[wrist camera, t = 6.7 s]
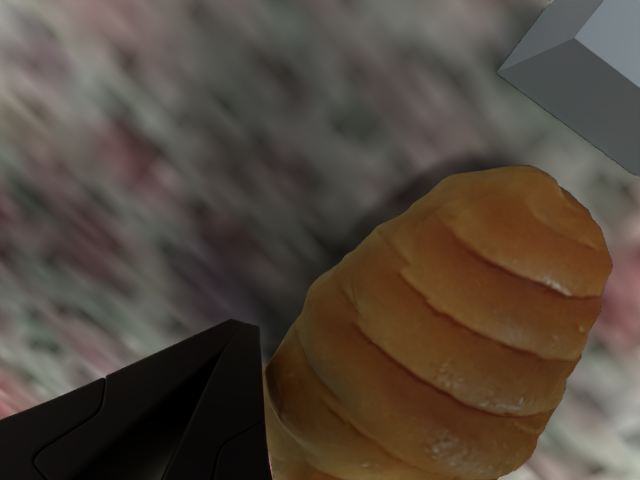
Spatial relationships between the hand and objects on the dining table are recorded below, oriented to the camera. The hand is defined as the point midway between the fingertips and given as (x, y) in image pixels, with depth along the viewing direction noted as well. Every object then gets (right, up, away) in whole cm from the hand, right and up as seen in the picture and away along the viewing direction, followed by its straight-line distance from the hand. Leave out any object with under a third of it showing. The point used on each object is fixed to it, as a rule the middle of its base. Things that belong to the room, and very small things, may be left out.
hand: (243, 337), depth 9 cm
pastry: (+4, 0, +2) cm, 5 cm away
